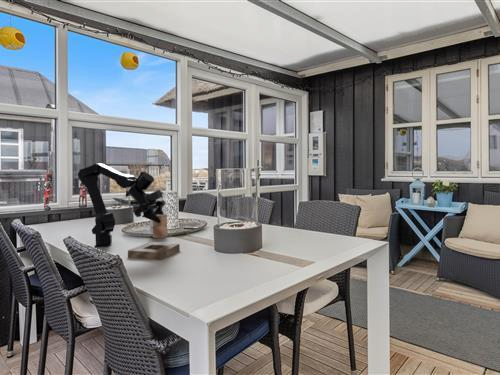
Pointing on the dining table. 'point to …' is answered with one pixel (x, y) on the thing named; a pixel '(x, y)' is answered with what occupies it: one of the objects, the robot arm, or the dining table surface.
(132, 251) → the walnut hole board
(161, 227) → the terracotta peg
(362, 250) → the dining table surface
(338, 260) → the dining table surface
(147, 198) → the robot arm
